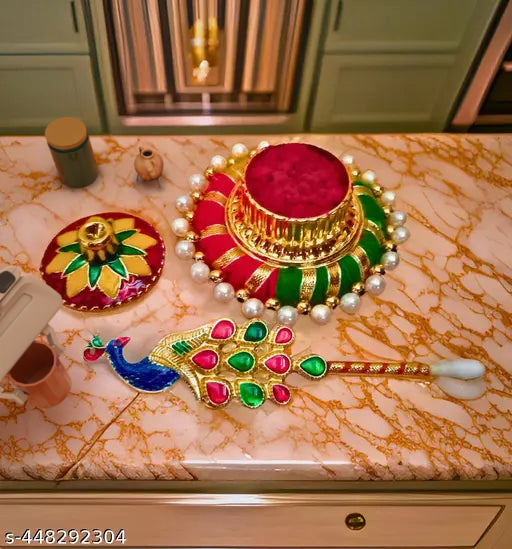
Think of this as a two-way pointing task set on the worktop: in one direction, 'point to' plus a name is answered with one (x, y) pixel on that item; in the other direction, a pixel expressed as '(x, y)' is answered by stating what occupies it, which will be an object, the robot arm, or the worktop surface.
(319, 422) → the worktop surface
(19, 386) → the cup
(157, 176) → the pot
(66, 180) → the jar
